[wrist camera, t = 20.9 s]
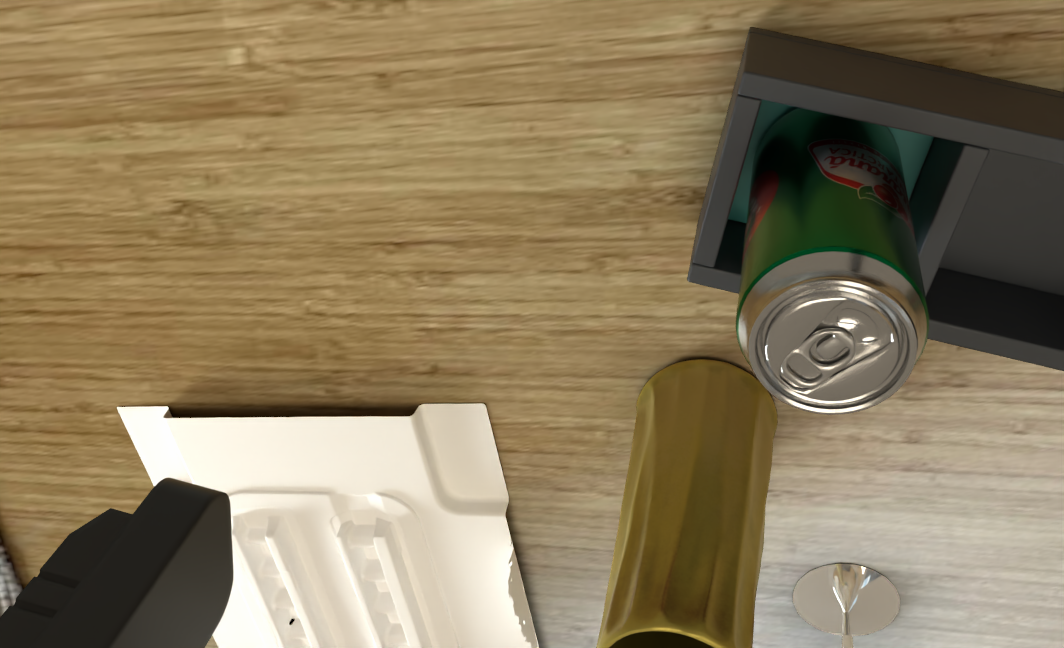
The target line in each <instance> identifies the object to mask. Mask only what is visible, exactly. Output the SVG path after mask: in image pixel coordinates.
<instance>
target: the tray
mask: <svg viewBox="0 0 1064 648" xmlns="http://www.w3.org/2000/svg"><path fill="white" fill-rule="evenodd" d="M117 409H118V412H119V414H120V416H121V418H122V420H123V422H124V424H125V427H126V428H127V431H128V433H129V435H130V437H131V439H132V441H133V443H134V445H135V447H136V449H137V451H138V454H139V456H140V458H141V460H142V462H143V464H144V466H145V468H146V470H147V472H148V475H149V477H150V478H151V481H152V483H153V485H154V487H155V486H156V484H158V483H159V482H160V481H161V480H163V479H164V478H174V479H177V480H181V481H184V482H188V483H192V484H195V485H199V486H203V487H206V488H210V489H214V490H217V491H221V492H225V493H226V494H227V495H228V496H229V499H230V507H231V529H232V550H233V584H232V590H231V594H230V597H229V601H228V604H227V606H226V609H225V612H224V614H223V616H222V618H221V620H220V622H219V624H218V626H217V628H216V629H215V631H214V633H213V634H212V635H213V637H214V639H215V641H216V643H217V645H218V648H539V645H538V641H537V637H536V633H535V629H534V626H533V622H532V617H531V613H530V610H529V606H528V602H527V598H526V594H525V590H524V586H523V582H522V578H521V574H520V570H519V566H518V563H517V559H516V555H515V551H514V547H513V546H512V545H513V544H512V540H511V536H510V531H509V528H508V524H507V521H506V516H505V514H506V509H507V506H508V503H509V496H508V492H507V489H506V484H505V480H504V476H503V472H502V467H501V464H500V460H499V456H498V452H497V448H496V445H495V440H494V436H493V433H492V429H491V425H490V420H489V417H488V413H487V409H486V406H485V404H482V403H475V404H422V405H420V406H419V407H418V408H417V410H416V411H415V413H414V414H413V415H412V416H402V417H379V416H367V417H289V418H288V417H276V418H275V417H252V418H250V417H244V418H239V417H236V418H233V417H232V418H230V417H223V418H222V417H217V418H172V415H171V413H170V411H169V409H168V407H167V406H165V407H159V406H152V407H117ZM291 619H295V621H294V622H293V624H292V625H289V623H290V621H291Z"/></svg>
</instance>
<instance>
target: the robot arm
mask: <svg viewBox="0 0 1064 648" xmlns="http://www.w3.org/2000/svg"><path fill="white" fill-rule="evenodd" d="M232 584H233V550H232V529H231V507H230V499H229V496H228V495H227V494H226V493H225V492H221V491H217V490H214V489H210V488H206V487H203V486H199V485H195V484H192V483H188V482H184V481H181V480H177V479H174V478H164V479H163V480H161V481H160V482H159V483H158V484H156V486H155V487H154V488H153V489H152V490H151V492H150V493H149V494H148V496H147V497H146V498H145V499H144V501H143V502H142V503H141V505H140V506H139V507H138V508H137V510H136V511H135V512H134V514H129V513H126V512H122V511H118V510H115V509H111V508H110V509H109V510H107V511H106V512H104V513H102V514H101V515H99V516H98V517H96V518H95V519H93V520H91V521H90V522H88V523H87V524H85V525H83V526H82V527H80V528H79V529H77V530H76V531H74V532H72V533H71V534H69V535H68V537H67V538H66V539H65V540H64V541H63V543H62V544H61V545H60V546H59V547H58V549H57V550H56V551H55V552H54V553H53V555H52V556H51V557H50V558H49V559H48V561H47V562H46V563H45V564H44V565H43V567H42V568H41V569H40V573H39V575H38V577H34V578H33V579H32V580H31V581H30V582H29V584H28V585H27V586H26V587H25V588H24V590H23V591H22V592H21V593H20V594H19V596H18V597H17V598H16V602H15V604H14V606H13V607H12V606H9V608H8V609H7V610H6V611H5V612H4V614H3V615H2V616H1V617H0V648H205V646H206V644H207V643H208V641H209V639H210V638H211V636H212V634H213V633H214V631H215V629H216V628H217V626H218V624H219V622H220V620H221V618H222V616H223V614H224V612H225V609H226V606H227V604H228V601H229V597H230V594H231V590H232Z"/></svg>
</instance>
